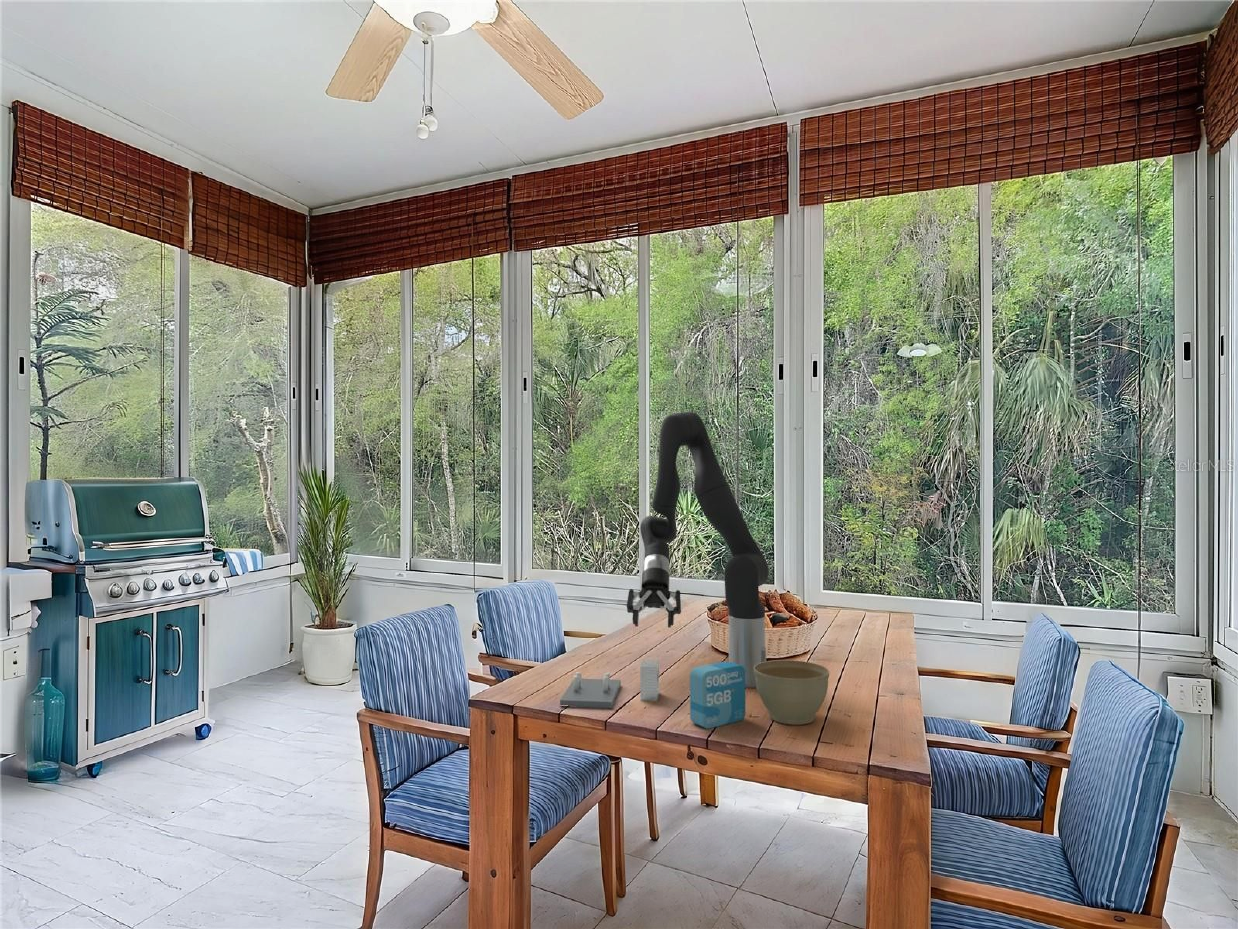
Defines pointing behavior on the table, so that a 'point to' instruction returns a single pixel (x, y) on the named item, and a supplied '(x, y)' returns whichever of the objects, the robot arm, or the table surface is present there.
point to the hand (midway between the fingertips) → (652, 625)
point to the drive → (649, 680)
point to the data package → (717, 694)
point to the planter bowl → (791, 689)
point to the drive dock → (591, 692)
